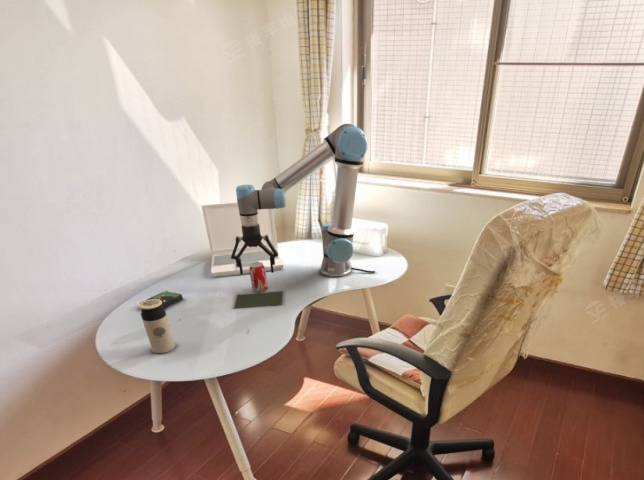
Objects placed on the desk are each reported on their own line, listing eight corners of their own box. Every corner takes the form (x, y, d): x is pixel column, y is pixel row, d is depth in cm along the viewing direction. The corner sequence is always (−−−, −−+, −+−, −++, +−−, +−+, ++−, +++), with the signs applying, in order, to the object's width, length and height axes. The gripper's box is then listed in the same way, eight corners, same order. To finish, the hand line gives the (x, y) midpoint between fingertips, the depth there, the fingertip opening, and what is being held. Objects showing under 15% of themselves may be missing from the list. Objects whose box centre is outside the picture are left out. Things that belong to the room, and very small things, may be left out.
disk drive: (157, 313, 193) (183, 299, 203) (155, 307, 191) (182, 293, 202) (140, 309, 197) (167, 295, 208) (138, 303, 196) (165, 289, 206)
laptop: (212, 278, 224) (199, 218, 208) (213, 260, 245) (201, 205, 229) (283, 270, 230) (276, 211, 214) (278, 253, 251) (271, 199, 235)
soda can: (265, 293, 206) (261, 267, 200) (250, 292, 208) (245, 267, 201) (270, 287, 212) (266, 262, 205) (256, 286, 213) (252, 261, 207)
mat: (282, 291, 207) (282, 291, 207) (281, 304, 196) (281, 304, 196) (237, 295, 206) (237, 294, 206) (234, 308, 194) (234, 308, 194)
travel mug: (154, 344, 170) (139, 300, 160) (176, 341, 172) (163, 297, 162) (151, 355, 164) (136, 309, 154) (174, 352, 165) (161, 306, 155)
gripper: (218, 228, 189) (227, 277, 201) (279, 225, 191) (285, 274, 203) (221, 223, 196) (229, 271, 207) (280, 220, 198) (285, 268, 209)
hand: (257, 272), depth 205 cm, fingers open, 13 cm apart
